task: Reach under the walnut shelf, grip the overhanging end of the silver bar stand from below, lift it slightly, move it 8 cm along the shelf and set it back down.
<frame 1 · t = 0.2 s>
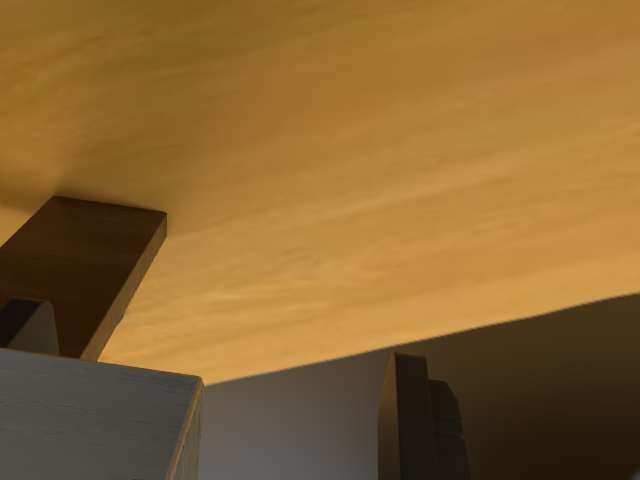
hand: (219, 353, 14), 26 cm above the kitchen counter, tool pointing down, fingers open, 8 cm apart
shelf: (105, 75, 37), on the kitchen counter
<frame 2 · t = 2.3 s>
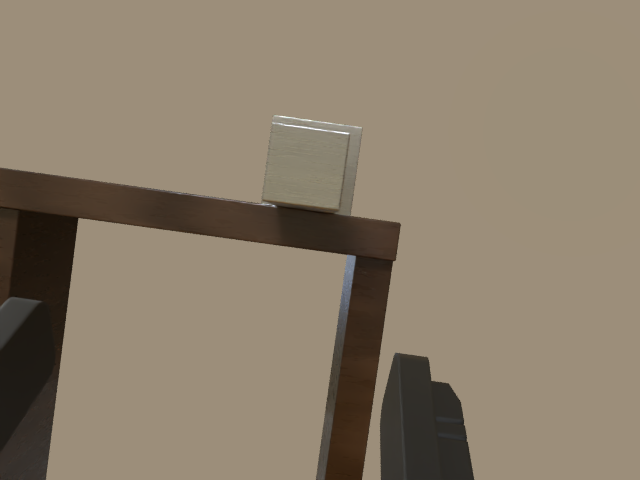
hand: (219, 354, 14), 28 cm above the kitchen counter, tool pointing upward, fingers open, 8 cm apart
silver stand: (304, 209, 30), point 32 cm above the kitchen counter, touching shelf
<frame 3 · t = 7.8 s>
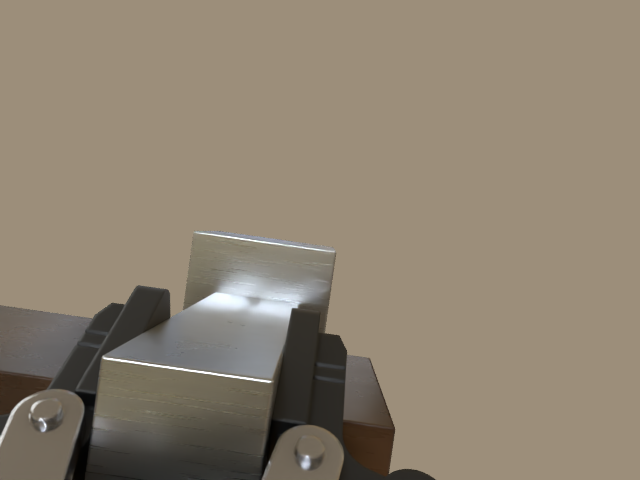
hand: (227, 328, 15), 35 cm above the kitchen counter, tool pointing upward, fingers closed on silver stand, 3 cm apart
silver stand: (234, 404, 18), point 32 cm above the kitchen counter, touching gripper, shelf
when the fingers open (35 cm above the kitchen counter, at t = 12.6 s): silver stand stays where it is, resting on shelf.
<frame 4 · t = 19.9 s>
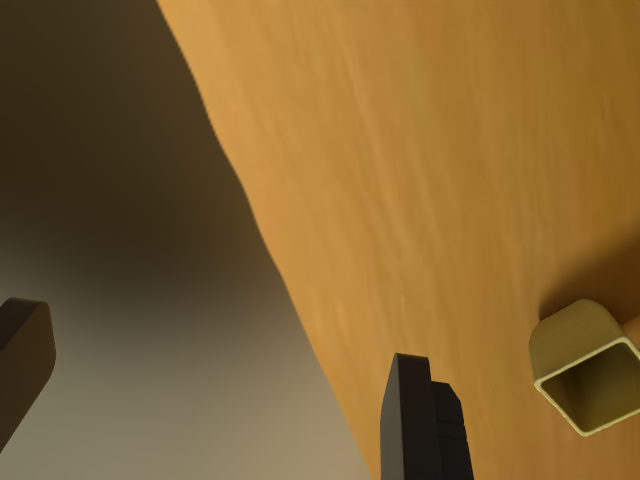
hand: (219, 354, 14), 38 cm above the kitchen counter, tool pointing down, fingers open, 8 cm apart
flower pot: (572, 324, 59), on the kitchen counter
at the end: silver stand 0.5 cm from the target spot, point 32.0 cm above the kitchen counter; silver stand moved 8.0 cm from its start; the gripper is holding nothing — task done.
